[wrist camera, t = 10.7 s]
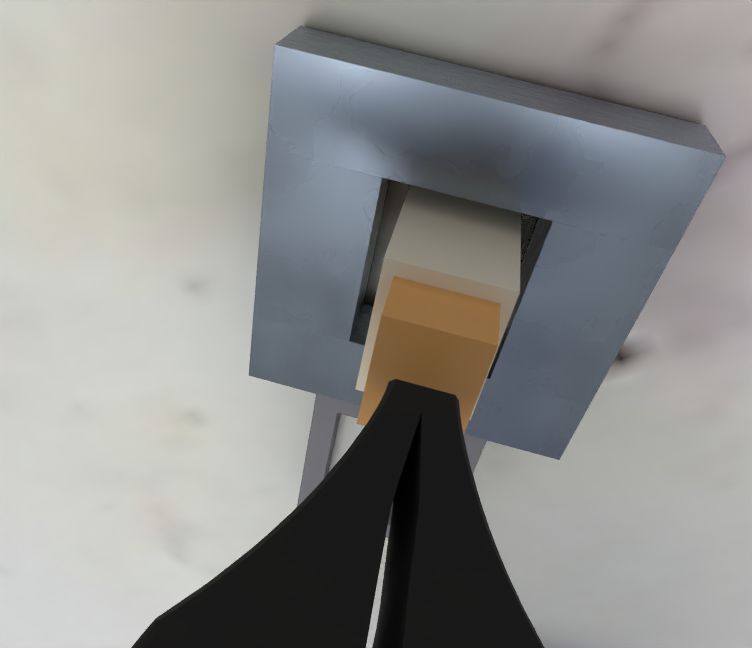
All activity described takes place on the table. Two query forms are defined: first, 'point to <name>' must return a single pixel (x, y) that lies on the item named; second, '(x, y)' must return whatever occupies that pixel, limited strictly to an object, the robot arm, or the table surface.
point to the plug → (442, 298)
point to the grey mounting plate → (324, 440)
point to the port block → (474, 182)
